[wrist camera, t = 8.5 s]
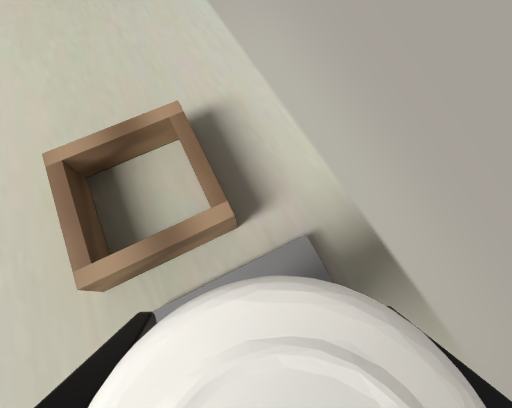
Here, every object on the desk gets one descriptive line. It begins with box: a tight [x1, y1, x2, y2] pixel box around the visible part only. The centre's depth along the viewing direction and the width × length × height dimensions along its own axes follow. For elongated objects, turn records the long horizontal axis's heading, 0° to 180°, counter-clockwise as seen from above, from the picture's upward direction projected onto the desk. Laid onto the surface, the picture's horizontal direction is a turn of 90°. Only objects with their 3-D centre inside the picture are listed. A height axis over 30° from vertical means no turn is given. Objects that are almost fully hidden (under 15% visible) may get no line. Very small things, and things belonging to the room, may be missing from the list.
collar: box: [42, 100, 238, 292], centre depth 18 cm, size 9×9×2 cm
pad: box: [153, 235, 334, 323], centre depth 15 cm, size 10×8×1 cm
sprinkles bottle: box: [88, 276, 486, 408], centre depth 8 cm, size 5×5×13 cm
